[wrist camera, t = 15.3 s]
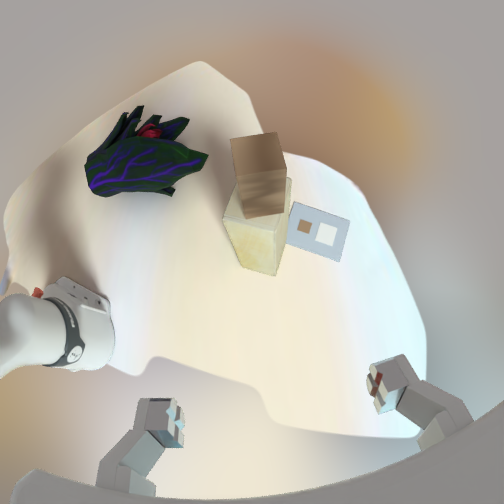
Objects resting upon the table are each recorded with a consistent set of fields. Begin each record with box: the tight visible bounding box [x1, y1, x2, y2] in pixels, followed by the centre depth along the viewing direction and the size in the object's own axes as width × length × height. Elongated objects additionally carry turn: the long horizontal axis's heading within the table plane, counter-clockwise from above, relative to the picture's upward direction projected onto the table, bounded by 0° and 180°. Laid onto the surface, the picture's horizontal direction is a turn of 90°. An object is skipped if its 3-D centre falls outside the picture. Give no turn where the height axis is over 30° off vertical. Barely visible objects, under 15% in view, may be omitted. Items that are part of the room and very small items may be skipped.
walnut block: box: [230, 132, 287, 219], centre depth 29 cm, size 4×4×9 cm
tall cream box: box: [222, 177, 292, 276], centre depth 43 cm, size 8×7×21 cm
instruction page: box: [286, 202, 350, 262], centre depth 54 cm, size 12×9×1 cm
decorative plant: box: [84, 105, 209, 197], centre depth 51 cm, size 21×26×30 cm
